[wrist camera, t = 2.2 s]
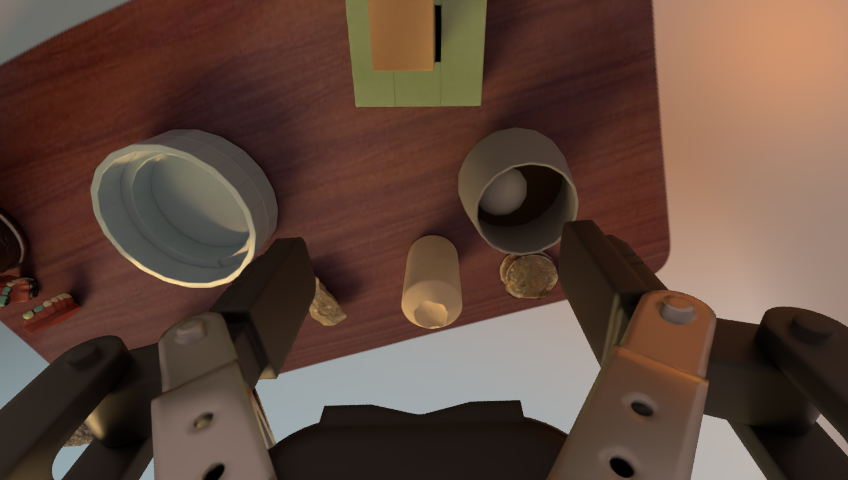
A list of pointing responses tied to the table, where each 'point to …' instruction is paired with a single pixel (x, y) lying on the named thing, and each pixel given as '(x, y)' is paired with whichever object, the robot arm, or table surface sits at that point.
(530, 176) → the cup
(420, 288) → the candle
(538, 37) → the table surface
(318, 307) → the artifact
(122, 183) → the bowl
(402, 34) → the stick
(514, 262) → the decorative disc
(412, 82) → the stand
